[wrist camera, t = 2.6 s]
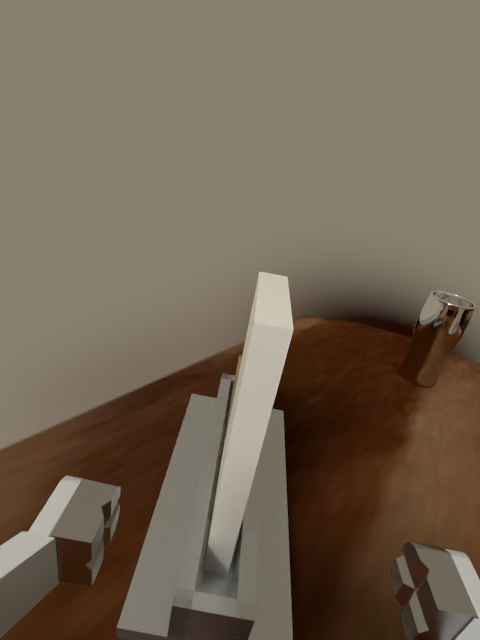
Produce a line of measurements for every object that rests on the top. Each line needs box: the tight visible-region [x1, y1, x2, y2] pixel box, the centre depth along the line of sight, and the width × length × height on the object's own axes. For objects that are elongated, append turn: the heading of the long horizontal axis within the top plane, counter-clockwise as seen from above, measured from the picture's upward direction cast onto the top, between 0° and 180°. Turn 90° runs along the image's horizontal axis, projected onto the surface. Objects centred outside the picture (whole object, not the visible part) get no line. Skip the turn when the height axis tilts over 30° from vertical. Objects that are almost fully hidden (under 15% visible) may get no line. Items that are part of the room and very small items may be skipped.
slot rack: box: [117, 373, 293, 640], centre depth 35 cm, size 12×25×6 cm, turn 175°
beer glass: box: [398, 291, 476, 387], centre depth 59 cm, size 7×7×15 cm
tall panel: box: [202, 272, 293, 574], centre depth 27 cm, size 2×8×22 cm, turn 175°
